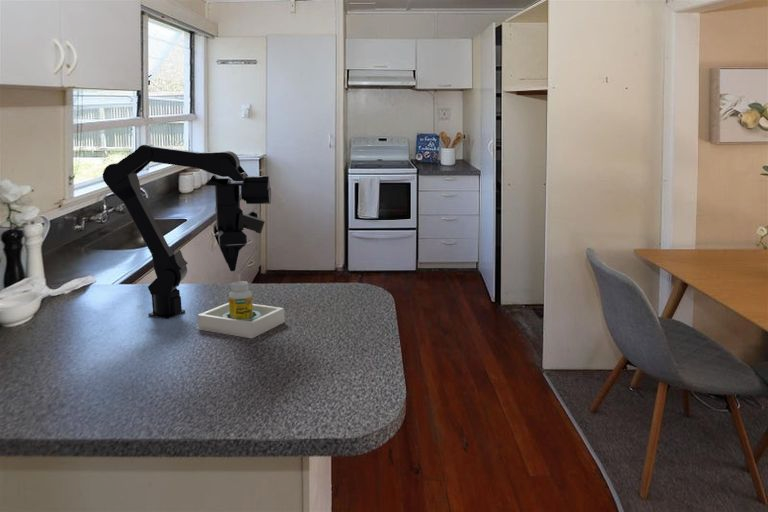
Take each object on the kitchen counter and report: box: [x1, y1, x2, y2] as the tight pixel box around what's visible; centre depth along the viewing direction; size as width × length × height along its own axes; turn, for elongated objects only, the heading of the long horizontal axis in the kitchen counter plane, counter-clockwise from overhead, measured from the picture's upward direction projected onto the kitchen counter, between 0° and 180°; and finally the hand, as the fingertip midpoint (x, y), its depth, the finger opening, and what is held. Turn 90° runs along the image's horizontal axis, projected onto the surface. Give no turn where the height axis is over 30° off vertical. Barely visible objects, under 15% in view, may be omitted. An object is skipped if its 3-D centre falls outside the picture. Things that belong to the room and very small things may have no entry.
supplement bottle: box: [228, 280, 253, 320], centre depth 153 cm, size 5×5×10 cm
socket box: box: [197, 302, 285, 339], centre depth 154 cm, size 15×13×4 cm
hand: (230, 266), depth 162 cm, fingers open, 9 cm apart
